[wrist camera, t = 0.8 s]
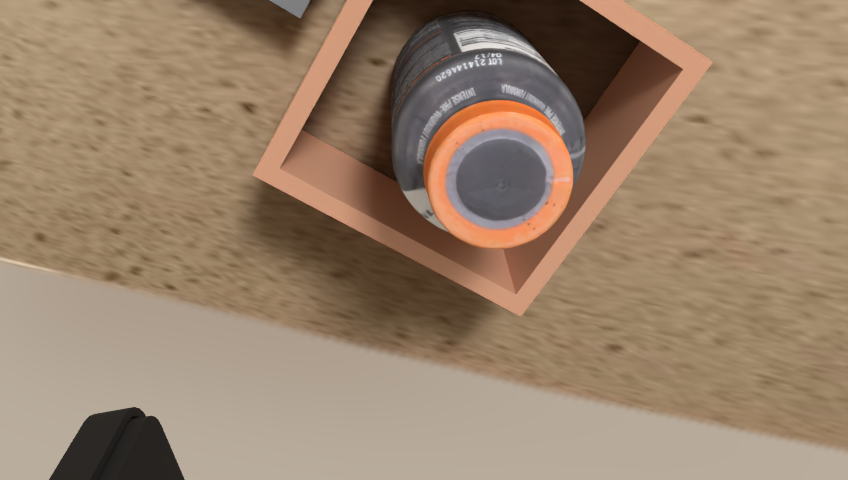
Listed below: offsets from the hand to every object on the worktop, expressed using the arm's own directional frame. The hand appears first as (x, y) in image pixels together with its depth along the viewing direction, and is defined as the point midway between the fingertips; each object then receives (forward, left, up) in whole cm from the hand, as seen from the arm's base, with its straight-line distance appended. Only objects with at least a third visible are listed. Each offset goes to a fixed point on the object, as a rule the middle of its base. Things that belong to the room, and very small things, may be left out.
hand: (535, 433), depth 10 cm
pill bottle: (-1, 0, -23) cm, 23 cm away
